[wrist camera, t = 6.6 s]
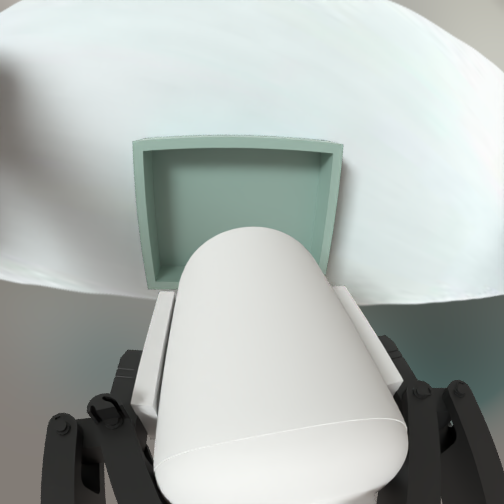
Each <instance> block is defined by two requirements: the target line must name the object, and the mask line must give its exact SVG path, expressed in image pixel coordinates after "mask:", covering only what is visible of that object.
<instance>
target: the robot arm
mask: <svg viewBox="0 0 504 504" xmlns="http://www.w3.org/2000/svg"><path fill="white" fill-rule="evenodd" d="M332 289H333V290H334V292H335V294H336V295H337V297H338V299H339V300H340V302H341V304H342V305H343V307H344V309H345V311H346V312H347V314H348V316H349V318H350V319H351V321H352V323H353V324H354V326H355V328H356V330H357V331H358V333H359V335H360V337H361V339H362V340H363V342H364V344H365V346H366V348H367V349H368V351H369V353H370V355H371V357H372V358H373V360H374V362H375V364H376V366H377V368H378V370H379V371H380V373H381V375H382V377H383V379H384V381H385V383H386V385H387V387H388V389H389V390H390V392H391V394H392V396H393V398H394V400H395V402H396V404H397V406H398V408H399V410H400V412H401V414H402V416H403V419H404V421H405V424H406V426H407V434H408V452H407V456H406V459H405V461H404V463H403V465H402V467H401V469H400V470H399V472H398V473H397V474H396V475H395V477H394V478H393V479H392V480H391V481H390V482H389V483H388V484H387V485H386V486H384V487H383V488H382V489H381V490H379V491H378V497H377V504H441V498H442V503H443V504H504V471H503V468H502V465H501V461H500V459H499V456H498V453H497V450H496V448H495V445H494V442H493V439H492V437H491V434H490V432H489V429H488V427H487V424H486V422H485V420H484V417H483V415H482V413H481V411H480V408H479V406H478V404H477V402H476V400H475V397H474V396H473V393H472V391H471V389H470V388H469V386H468V385H467V384H466V383H465V382H463V381H460V380H455V381H452V382H451V383H450V384H449V386H448V387H447V388H431V386H430V385H429V384H427V383H426V382H424V381H419V380H417V379H416V377H415V375H414V373H413V372H412V370H411V369H410V367H409V365H408V364H407V362H406V361H405V359H404V358H403V357H402V354H401V353H400V351H398V348H397V346H396V345H395V343H394V342H393V341H392V340H391V339H389V338H388V337H387V336H386V335H384V336H378V337H377V335H376V334H375V332H374V330H373V329H372V327H371V326H370V324H369V322H368V321H367V319H366V318H365V316H364V315H363V313H362V311H361V310H360V308H359V307H358V305H357V304H356V302H355V300H354V299H353V297H352V296H351V294H350V293H349V291H348V290H347V288H346V287H345V286H333V287H332ZM175 302H176V299H175V292H174V291H160V292H159V295H158V298H157V302H156V305H155V308H154V312H153V316H152V319H151V322H150V326H149V330H148V333H147V337H146V341H145V345H144V349H143V351H139V350H127V351H126V352H125V354H124V355H123V356H122V357H121V359H120V363H119V365H118V370H117V372H116V377H115V378H114V382H113V386H112V389H111V392H110V394H108V393H106V394H100V395H97V396H95V397H94V398H92V399H91V400H90V402H89V404H88V406H87V413H88V414H89V416H90V417H91V418H86V419H77V420H75V419H74V417H72V416H71V415H70V414H66V413H59V414H57V415H55V416H53V417H52V418H51V419H50V421H49V424H48V427H47V434H46V441H45V449H44V457H43V468H42V481H41V504H106V500H105V483H104V463H105V465H106V468H107V472H108V475H109V478H110V482H111V485H112V488H113V491H114V494H115V497H116V500H117V502H118V504H168V503H167V502H166V501H165V500H164V498H163V497H162V495H161V493H160V491H159V489H158V486H157V483H156V478H155V476H154V460H153V458H152V455H151V452H150V450H149V447H148V446H147V444H146V441H147V434H148V436H149V437H150V439H154V440H155V439H156V429H157V419H158V411H159V402H160V394H161V387H162V379H163V372H164V366H165V359H166V353H167V347H168V340H169V335H170V329H171V323H172V318H173V312H174V307H175ZM451 420H452V422H453V426H452V425H451V423H450V421H451Z"/></svg>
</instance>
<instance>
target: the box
mask: <svg viewBox="0 0 504 504" xmlns="http://www.w3.org/2000/svg"><path fill="white" fill-rule="evenodd" d="M342 155H343V144H339V143H335V142H331V141H325V140H315V139H304V138H292V137H276V136H254V135H193V136H170V137H155V138H144V139H140V140H136V141H133V164H134V181H135V194H136V205H137V215H138V224H139V232H140V240H141V247H142V254H143V261H144V267H145V274H146V280H147V285H148V289H178V286H179V282H180V278H181V275H182V273H183V271H184V268H185V266H186V264H187V262H188V261H189V259H190V258H191V256H192V255H193V254H194V252H195V251H196V250H197V249H198V248H199V247H200V246H201V245H203V244H204V243H205V242H206V241H208V240H209V239H211V238H213V237H214V236H216V235H218V234H220V233H223V232H225V231H228V230H232V229H236V228H241V227H265V228H271V229H274V230H278V231H281V232H283V233H285V234H287V235H289V236H291V237H293V238H294V239H296V240H297V241H298V242H299V243H301V244H302V245H303V246H304V247H305V248H306V249H307V250H308V251H309V253H310V254H311V255H312V256H313V258H314V259H315V261H316V262H317V264H318V266H319V267H320V269H321V270H322V272H323V274H324V275H326V270H327V264H328V259H329V253H330V247H331V241H332V235H333V228H334V221H335V214H336V207H337V200H338V192H339V183H340V175H341V165H342Z"/></svg>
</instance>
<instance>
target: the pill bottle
mask: <svg viewBox="0 0 504 504" xmlns="http://www.w3.org/2000/svg"><path fill="white" fill-rule="evenodd" d="M407 452H408V434H407V426H406V424H405V421H404V419H403V416H402V414H401V412H400V410H399V408H398V406H397V404H396V402H395V400H394V398H393V396H392V394H391V392H390V390H389V389H388V387H387V385H386V383H385V381H384V379H383V377H382V375H381V373H380V371H379V370H378V368H377V366H376V364H375V362H374V360H373V358H372V357H371V355H370V353H369V351H368V349H367V348H366V346H365V344H364V342H363V340H362V339H361V337H360V335H359V333H358V331H357V330H356V328H355V326H354V324H353V323H352V321H351V319H350V318H349V316H348V314H347V312H346V311H345V309H344V307H343V305H342V304H341V302H340V300H339V299H338V297H337V295H336V294H335V292H334V290H333V289H332V287H331V285H330V284H329V282H328V280H327V279H326V277H325V275H324V274H323V272H322V270H321V269H320V267H319V266H318V264H317V262H316V261H315V259H314V258H313V256H312V255H311V254H310V253H309V251H308V250H307V249H306V248H305V247H304V246H303V245H302V244H301V243H299V242H298V241H297V240H296V239H294V238H293V237H291V236H289V235H287V234H285V233H283V232H281V231H278V230H274V229H271V228H265V227H241V228H236V229H232V230H228V231H225V232H223V233H220V234H218V235H216V236H214V237H213V238H211V239H209V240H208V241H206V242H205V243H204V244H203V245H201V246H200V247H199V248H198V249H197V250H196V251H195V252H194V254H193V255H192V256H191V258H190V259H189V261H188V262H187V264H186V266H185V268H184V271H183V273H182V275H181V278H180V282H179V286H178V291H177V296H176V302H175V307H174V312H173V318H172V323H171V329H170V335H169V340H168V347H167V353H166V359H165V366H164V372H163V379H162V387H161V394H160V402H159V411H158V419H157V429H156V439H155V451H154V476H155V478H156V483H157V486H158V489H159V491H160V493H161V495H162V497H163V498H164V500H165V501H166V502H167V503H168V504H376V502H375V498H374V496H375V493H377V492H378V491H379V490H381V489H382V488H383V487H384V486H386V485H387V484H388V483H389V482H390V481H391V480H392V479H393V478H394V477H395V475H396V474H397V473H398V472H399V470H400V469H401V467H402V465H403V463H404V461H405V459H406V456H407Z"/></svg>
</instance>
